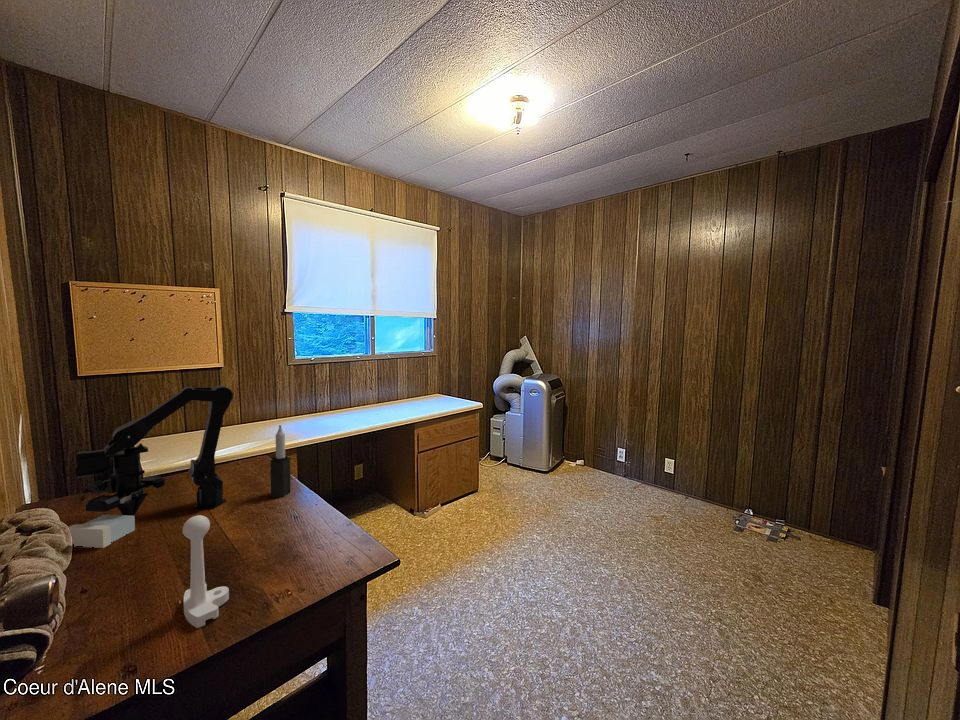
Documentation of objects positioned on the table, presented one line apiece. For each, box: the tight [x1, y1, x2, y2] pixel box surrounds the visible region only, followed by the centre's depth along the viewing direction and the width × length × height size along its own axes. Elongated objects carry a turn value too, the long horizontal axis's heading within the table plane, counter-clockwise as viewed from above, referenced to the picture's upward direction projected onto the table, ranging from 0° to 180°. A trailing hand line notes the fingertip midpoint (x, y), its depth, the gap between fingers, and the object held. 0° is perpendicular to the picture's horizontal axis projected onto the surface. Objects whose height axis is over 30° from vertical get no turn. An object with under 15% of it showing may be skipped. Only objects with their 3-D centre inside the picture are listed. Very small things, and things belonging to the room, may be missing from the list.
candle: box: [270, 424, 291, 498], centre depth 134 cm, size 5×5×25 cm
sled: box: [82, 514, 136, 543], centre depth 105 cm, size 9×7×4 cm
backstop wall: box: [68, 523, 112, 549], centre depth 100 cm, size 10×2×5 cm, turn 88°
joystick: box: [182, 515, 230, 629], centre depth 79 cm, size 11×8×20 cm
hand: (129, 520), depth 111 cm, fingers closed
